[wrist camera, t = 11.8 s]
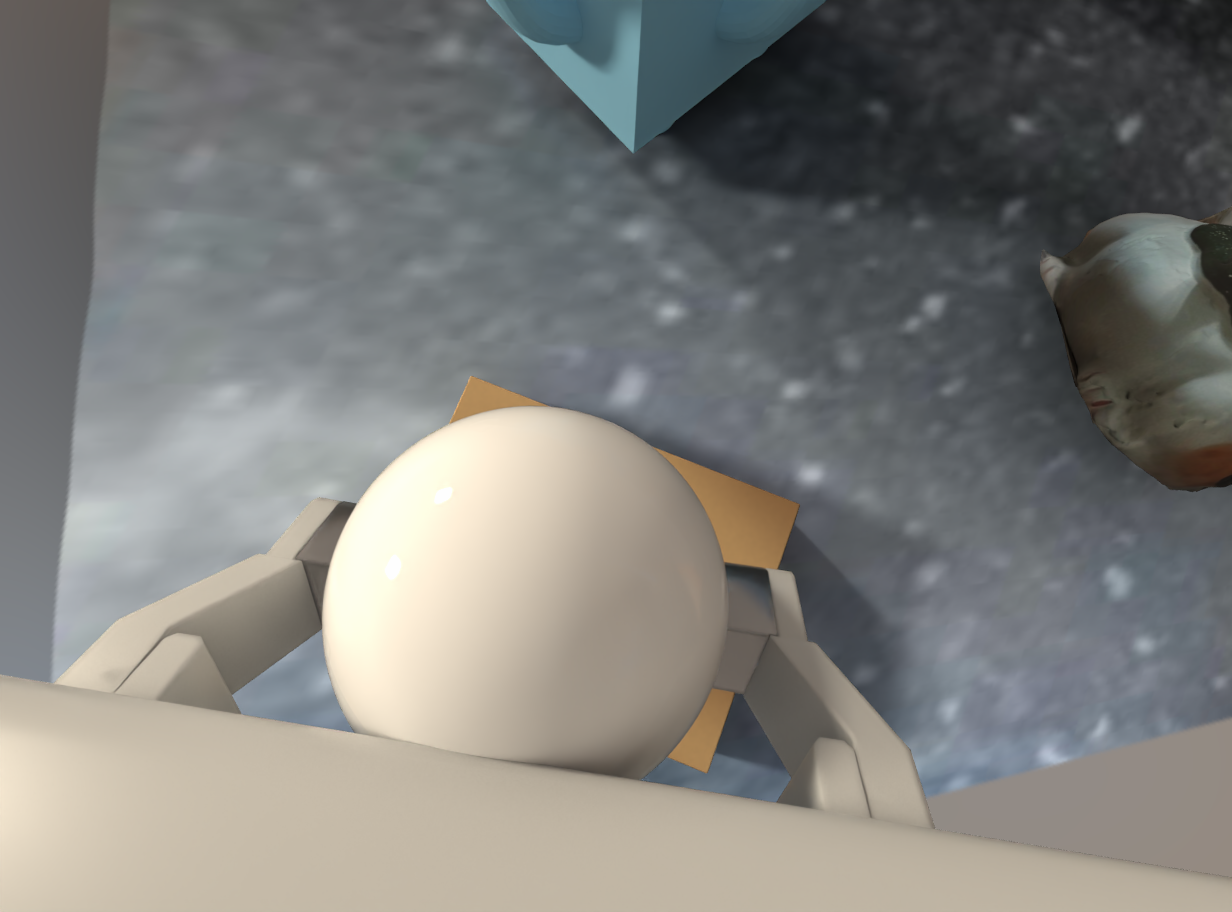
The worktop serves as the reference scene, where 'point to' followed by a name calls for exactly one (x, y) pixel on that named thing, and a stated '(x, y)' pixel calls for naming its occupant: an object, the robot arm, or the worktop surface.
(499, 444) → the lightbulb
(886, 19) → the worktop surface
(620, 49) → the teakettle
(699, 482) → the shelf
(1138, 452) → the lucky cat figurine
